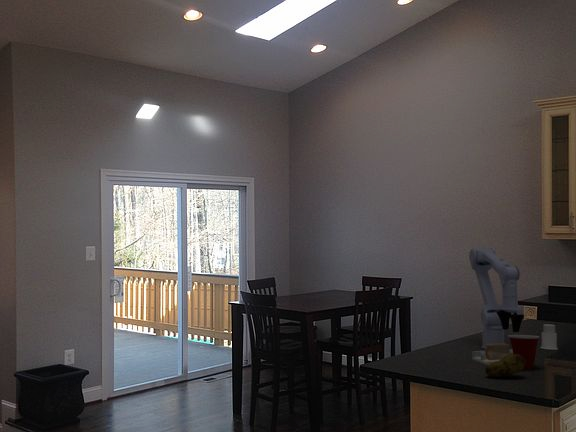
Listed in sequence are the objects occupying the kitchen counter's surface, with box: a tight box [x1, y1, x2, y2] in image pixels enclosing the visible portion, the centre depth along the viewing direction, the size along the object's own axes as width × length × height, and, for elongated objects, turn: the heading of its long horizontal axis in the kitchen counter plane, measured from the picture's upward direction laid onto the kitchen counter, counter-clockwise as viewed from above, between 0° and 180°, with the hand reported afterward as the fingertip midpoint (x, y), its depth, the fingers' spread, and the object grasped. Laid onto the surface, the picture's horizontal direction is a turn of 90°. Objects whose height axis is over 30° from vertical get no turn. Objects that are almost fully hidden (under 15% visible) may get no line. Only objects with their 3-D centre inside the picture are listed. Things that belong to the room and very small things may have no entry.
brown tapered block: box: [484, 342, 510, 360], centre depth 244 cm, size 4×8×6 cm, turn 102°
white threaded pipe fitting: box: [540, 323, 559, 351], centre depth 268 cm, size 8×7×10 cm
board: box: [471, 348, 513, 366], centre depth 246 cm, size 11×18×4 cm, turn 102°
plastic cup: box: [507, 334, 541, 371], centre depth 232 cm, size 11×11×12 cm
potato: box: [485, 354, 526, 378], centre depth 218 cm, size 8×13×8 cm, turn 68°
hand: (510, 330), depth 255 cm, fingers open, 7 cm apart
